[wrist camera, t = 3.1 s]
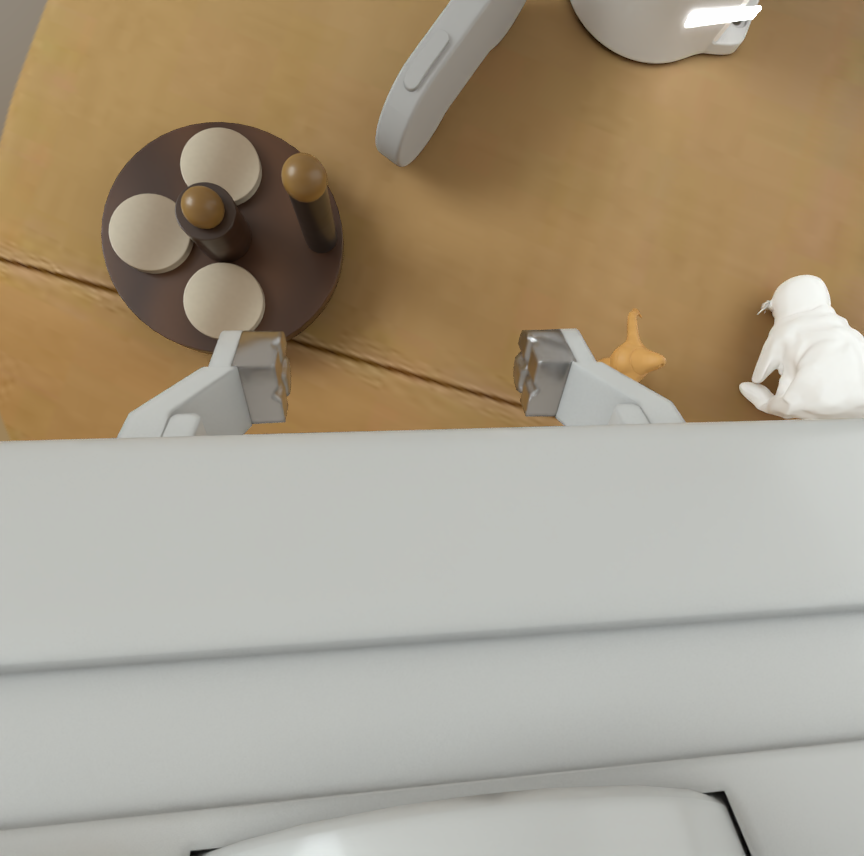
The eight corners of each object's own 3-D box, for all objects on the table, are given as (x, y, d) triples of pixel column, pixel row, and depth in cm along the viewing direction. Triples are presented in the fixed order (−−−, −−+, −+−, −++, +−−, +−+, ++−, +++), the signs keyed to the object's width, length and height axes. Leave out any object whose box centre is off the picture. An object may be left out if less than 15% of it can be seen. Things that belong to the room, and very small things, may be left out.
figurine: (617, 440, 41) (716, 440, 29) (545, 430, 40) (616, 427, 28) (628, 338, 41) (731, 298, 29) (557, 327, 41) (632, 281, 29)
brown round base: (112, 357, 35) (-2, 322, 24) (108, 128, 35) (-7, -4, 25) (346, 354, 37) (334, 320, 26) (340, 136, 37) (326, 15, 26)
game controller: (510, -21, 41) (544, -137, 32) (533, -3, 41) (572, -114, 33) (372, 169, 39) (370, 97, 31) (396, 187, 39) (401, 120, 31)
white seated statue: (825, 413, 33) (820, 241, 35) (734, 428, 42) (733, 289, 43) (911, 421, 34) (902, 251, 35) (804, 434, 42) (801, 296, 44)
